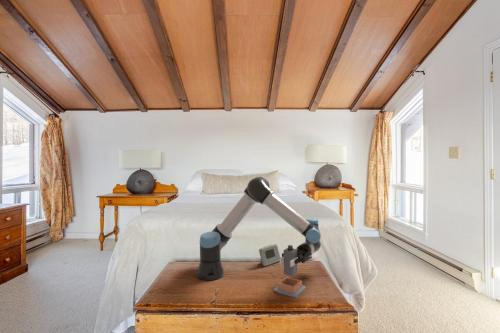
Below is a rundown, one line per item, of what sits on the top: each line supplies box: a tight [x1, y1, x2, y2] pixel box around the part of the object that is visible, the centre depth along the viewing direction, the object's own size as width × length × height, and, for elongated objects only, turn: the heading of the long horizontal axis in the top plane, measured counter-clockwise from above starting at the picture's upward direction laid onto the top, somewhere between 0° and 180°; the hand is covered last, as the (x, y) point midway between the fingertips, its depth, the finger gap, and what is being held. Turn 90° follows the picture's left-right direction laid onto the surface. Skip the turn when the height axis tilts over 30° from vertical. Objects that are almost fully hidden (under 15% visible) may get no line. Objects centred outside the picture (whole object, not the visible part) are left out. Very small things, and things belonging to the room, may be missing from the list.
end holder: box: [273, 276, 307, 299], centre depth 138 cm, size 12×12×4 cm
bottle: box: [283, 244, 298, 277], centre depth 138 cm, size 5×5×14 cm
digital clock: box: [258, 243, 281, 267], centre depth 176 cm, size 16×9×11 cm, turn 121°
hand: (285, 262), depth 134 cm, fingers closed on bottle, 5 cm apart
